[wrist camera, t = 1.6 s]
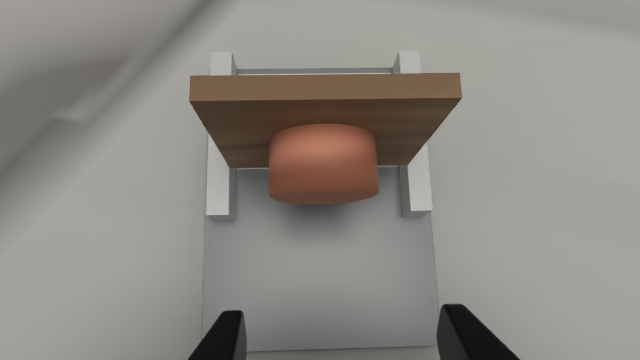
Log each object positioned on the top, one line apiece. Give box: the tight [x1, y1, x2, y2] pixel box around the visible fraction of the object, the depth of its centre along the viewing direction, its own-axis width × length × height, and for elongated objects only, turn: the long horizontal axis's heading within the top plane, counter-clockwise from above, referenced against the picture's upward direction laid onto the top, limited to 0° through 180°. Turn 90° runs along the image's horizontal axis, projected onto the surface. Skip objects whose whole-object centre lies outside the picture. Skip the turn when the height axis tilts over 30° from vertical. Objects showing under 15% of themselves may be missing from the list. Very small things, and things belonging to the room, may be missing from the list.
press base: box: [202, 50, 439, 352], centre depth 23 cm, size 14×11×3 cm
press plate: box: [189, 73, 462, 205], centre depth 17 cm, size 3×8×8 cm, turn 92°
